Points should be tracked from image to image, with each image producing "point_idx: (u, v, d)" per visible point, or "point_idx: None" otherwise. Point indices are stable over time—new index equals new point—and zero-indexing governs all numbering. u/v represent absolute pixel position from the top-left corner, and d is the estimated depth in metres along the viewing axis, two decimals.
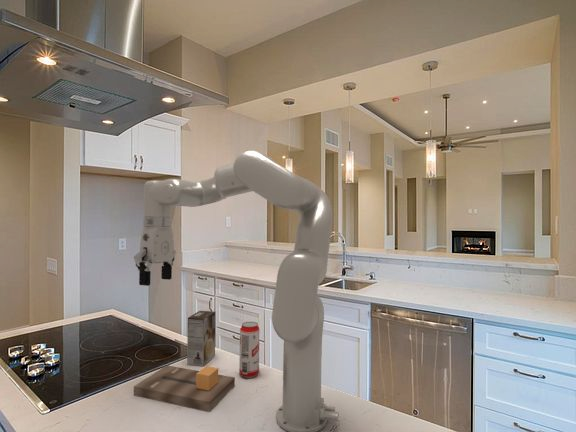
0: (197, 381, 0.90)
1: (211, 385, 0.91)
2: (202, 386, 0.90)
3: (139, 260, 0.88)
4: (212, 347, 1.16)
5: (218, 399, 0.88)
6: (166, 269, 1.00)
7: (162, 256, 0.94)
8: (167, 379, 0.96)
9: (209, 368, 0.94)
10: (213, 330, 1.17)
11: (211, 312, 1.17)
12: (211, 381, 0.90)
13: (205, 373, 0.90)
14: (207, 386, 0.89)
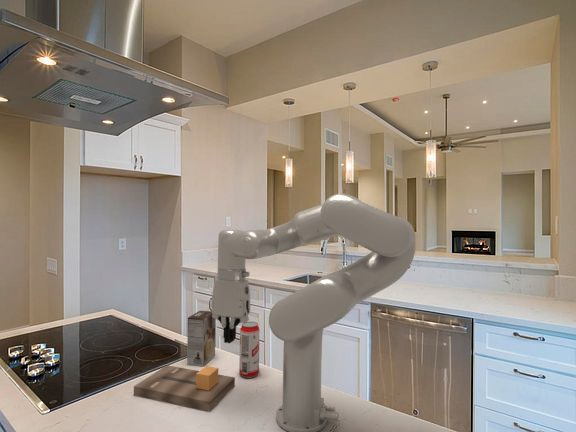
0: (197, 381, 0.90)
1: (211, 385, 0.91)
2: (202, 386, 0.90)
3: None
4: (212, 347, 1.16)
5: (218, 399, 0.88)
6: None
7: None
8: (167, 379, 0.96)
9: (209, 368, 0.94)
10: (213, 330, 1.17)
11: (211, 312, 1.17)
12: (211, 381, 0.90)
13: (205, 373, 0.90)
14: (207, 386, 0.89)
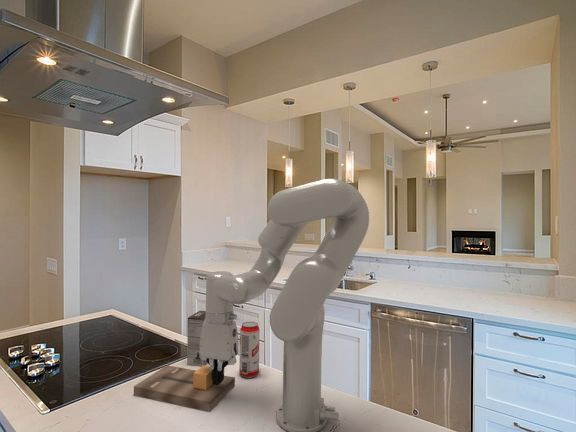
0: (195, 380, 0.91)
1: (208, 384, 0.91)
2: (199, 385, 0.90)
3: None
4: None
5: (218, 399, 0.88)
6: None
7: None
8: (167, 379, 0.96)
9: (206, 368, 0.94)
10: None
11: None
12: (208, 380, 0.91)
13: (202, 373, 0.91)
14: (204, 385, 0.90)
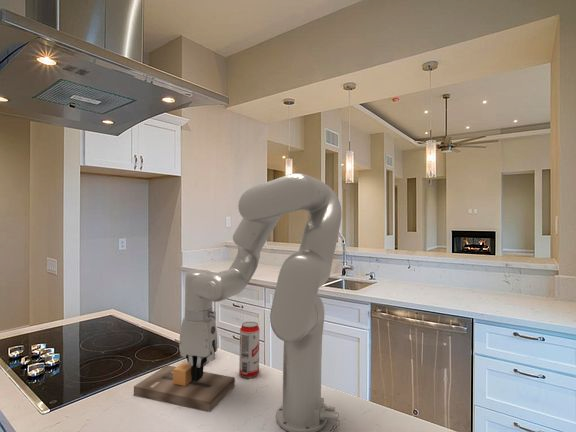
0: (174, 376, 0.93)
1: (188, 381, 0.93)
2: (179, 381, 0.92)
3: None
4: None
5: (218, 399, 0.88)
6: None
7: None
8: (167, 379, 0.96)
9: (186, 364, 0.96)
10: None
11: None
12: (187, 377, 0.93)
13: (181, 369, 0.93)
14: (183, 381, 0.92)
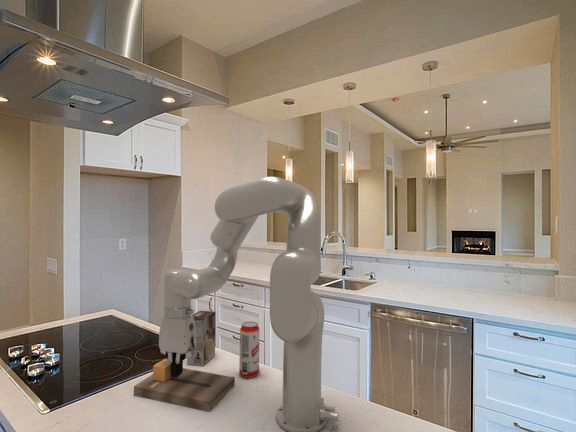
0: (154, 372, 0.95)
1: (167, 377, 0.95)
2: (158, 378, 0.94)
3: None
4: (212, 347, 1.16)
5: (218, 399, 0.88)
6: None
7: None
8: None
9: (167, 361, 0.98)
10: (213, 330, 1.17)
11: (211, 312, 1.17)
12: (167, 373, 0.95)
13: (161, 366, 0.95)
14: (163, 377, 0.94)
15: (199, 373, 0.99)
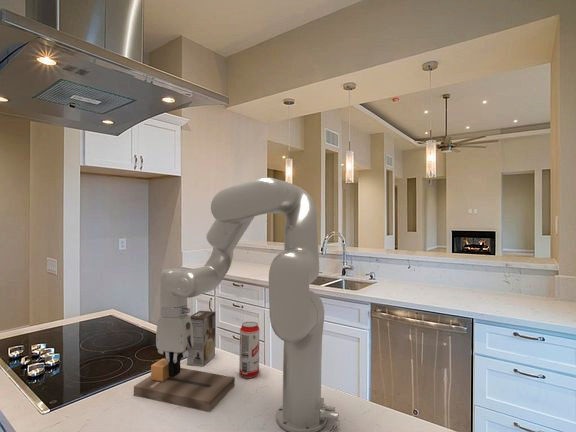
0: (152, 372, 0.95)
1: (165, 376, 0.95)
2: (156, 377, 0.94)
3: None
4: (212, 347, 1.16)
5: (218, 399, 0.88)
6: None
7: None
8: (167, 379, 0.96)
9: (165, 360, 0.98)
10: (213, 330, 1.17)
11: (211, 312, 1.17)
12: (165, 372, 0.95)
13: (159, 365, 0.95)
14: (161, 377, 0.94)
15: (199, 373, 0.99)
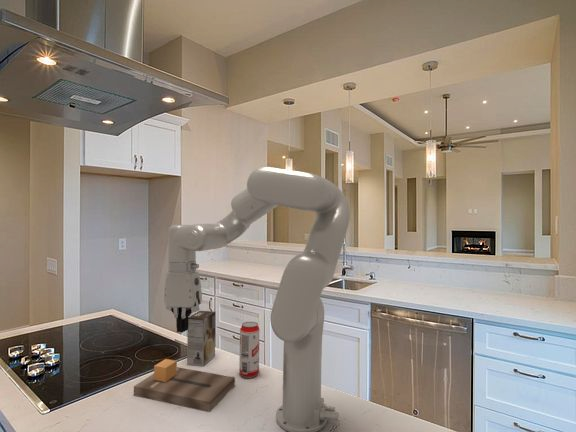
0: (155, 373, 0.95)
1: (168, 377, 0.95)
2: (159, 378, 0.94)
3: None
4: (212, 347, 1.16)
5: (218, 399, 0.88)
6: None
7: None
8: None
9: (168, 361, 0.98)
10: (213, 330, 1.17)
11: (211, 312, 1.17)
12: (168, 373, 0.95)
13: (162, 366, 0.95)
14: (164, 378, 0.94)
15: (199, 373, 0.99)
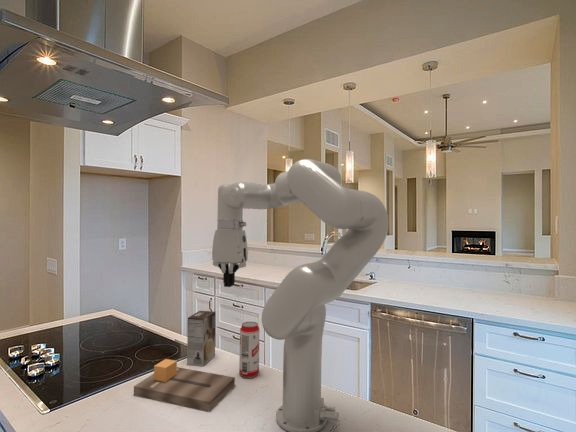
0: (155, 373, 0.95)
1: (168, 377, 0.95)
2: (159, 378, 0.94)
3: None
4: (212, 347, 1.16)
5: (218, 399, 0.88)
6: None
7: None
8: None
9: (168, 361, 0.98)
10: (213, 330, 1.17)
11: (211, 312, 1.17)
12: (168, 373, 0.95)
13: (162, 366, 0.95)
14: (164, 378, 0.94)
15: (199, 373, 0.99)
